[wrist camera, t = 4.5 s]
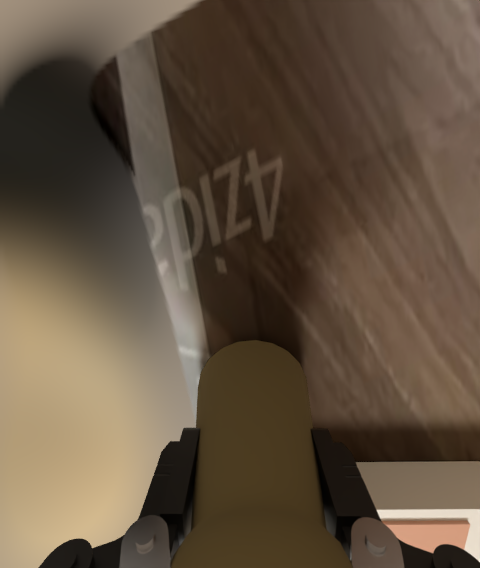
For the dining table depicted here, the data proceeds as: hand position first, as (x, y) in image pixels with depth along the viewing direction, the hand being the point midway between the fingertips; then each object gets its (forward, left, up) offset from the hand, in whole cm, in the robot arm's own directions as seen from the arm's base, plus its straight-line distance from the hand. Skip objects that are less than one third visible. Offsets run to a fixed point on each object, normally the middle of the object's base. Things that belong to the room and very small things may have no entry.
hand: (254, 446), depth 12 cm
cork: (0, 0, -4) cm, 4 cm away
